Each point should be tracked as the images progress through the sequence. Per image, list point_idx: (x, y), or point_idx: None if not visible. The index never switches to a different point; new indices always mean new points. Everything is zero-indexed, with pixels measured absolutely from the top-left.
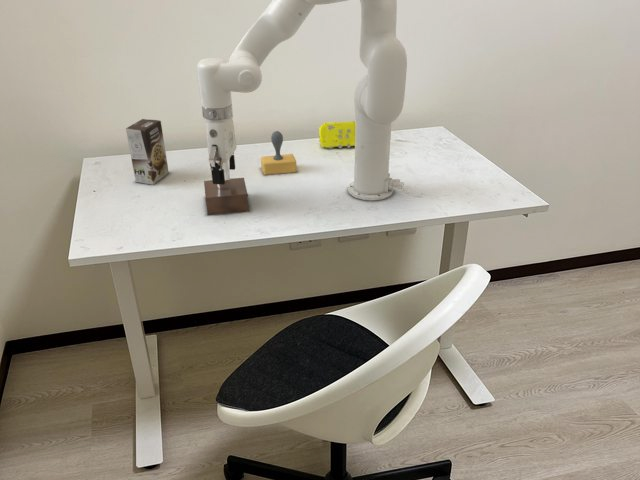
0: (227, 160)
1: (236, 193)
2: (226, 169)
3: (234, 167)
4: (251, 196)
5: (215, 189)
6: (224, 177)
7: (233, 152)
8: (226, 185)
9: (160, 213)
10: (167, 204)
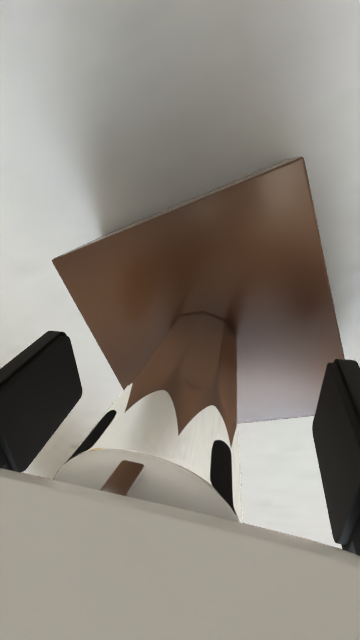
0: (180, 475)
1: (292, 249)
2: (210, 405)
3: (54, 338)
4: (114, 199)
5: (238, 378)
6: (351, 392)
7: (18, 486)
8: (227, 335)
9: (311, 487)
10: (241, 474)
